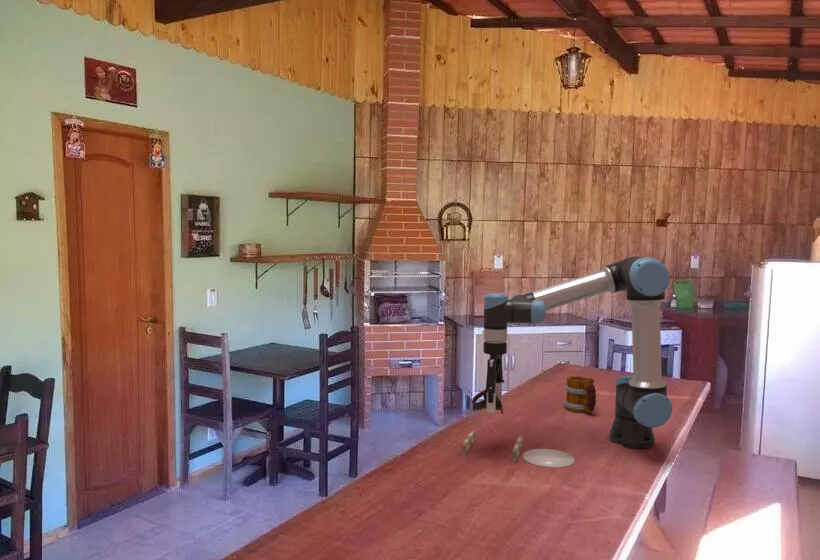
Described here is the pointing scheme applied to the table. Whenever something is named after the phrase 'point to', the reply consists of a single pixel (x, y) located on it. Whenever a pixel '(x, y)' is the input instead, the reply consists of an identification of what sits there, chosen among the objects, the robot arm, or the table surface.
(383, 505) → the table surface
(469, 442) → the pair of beige bars
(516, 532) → the table surface
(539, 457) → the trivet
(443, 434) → the table surface
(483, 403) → the pottery mug
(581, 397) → the mug
